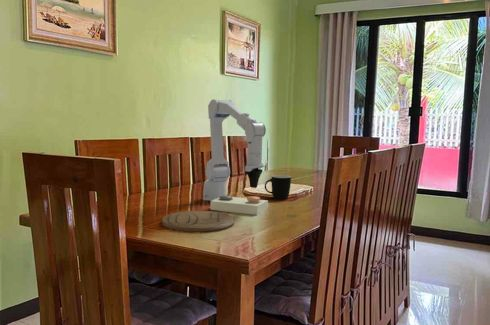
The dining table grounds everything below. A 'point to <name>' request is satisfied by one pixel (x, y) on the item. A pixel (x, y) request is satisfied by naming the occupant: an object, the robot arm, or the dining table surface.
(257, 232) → the dining table surface
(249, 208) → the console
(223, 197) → the button
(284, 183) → the mug
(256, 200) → the button
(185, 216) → the trivet
